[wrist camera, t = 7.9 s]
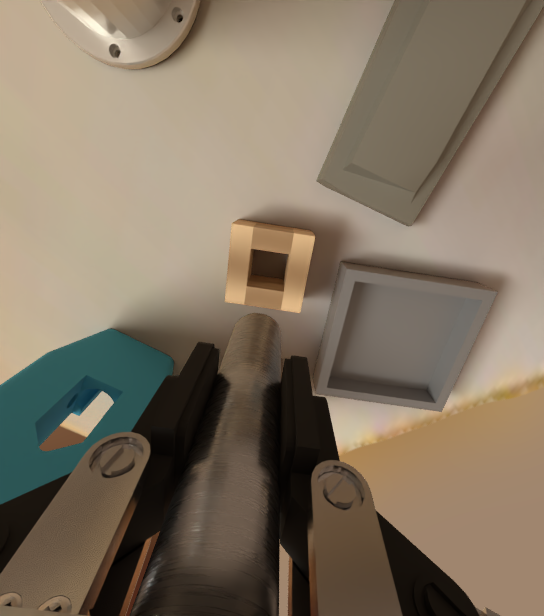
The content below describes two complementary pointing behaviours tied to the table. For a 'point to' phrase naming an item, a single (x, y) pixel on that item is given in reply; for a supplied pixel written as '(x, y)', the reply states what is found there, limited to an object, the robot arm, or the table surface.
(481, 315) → the tray
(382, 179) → the soap mold
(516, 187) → the table surface
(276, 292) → the oak block
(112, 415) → the block
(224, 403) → the gauge pin
